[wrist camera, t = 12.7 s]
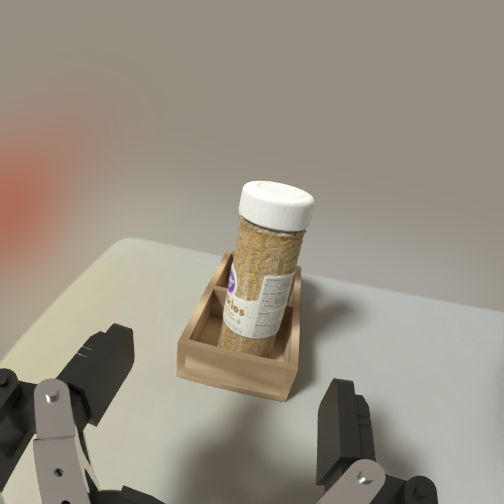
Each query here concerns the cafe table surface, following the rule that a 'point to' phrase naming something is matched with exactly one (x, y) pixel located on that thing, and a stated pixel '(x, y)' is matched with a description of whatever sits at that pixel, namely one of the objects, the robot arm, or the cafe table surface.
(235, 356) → the caddy
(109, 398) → the robot arm
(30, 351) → the cafe table surface
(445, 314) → the cafe table surface
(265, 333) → the sprinkles bottle
